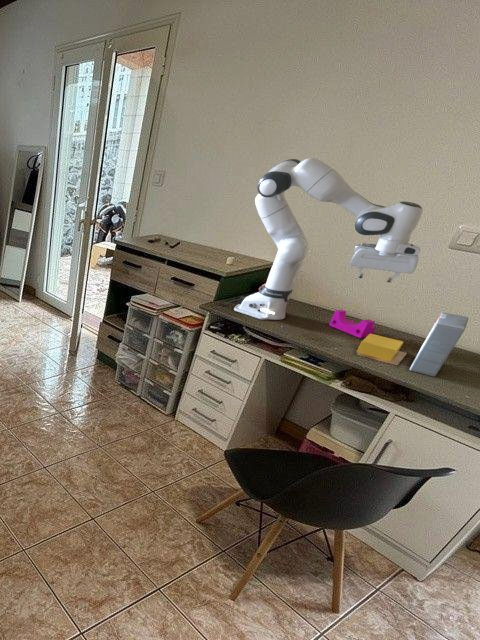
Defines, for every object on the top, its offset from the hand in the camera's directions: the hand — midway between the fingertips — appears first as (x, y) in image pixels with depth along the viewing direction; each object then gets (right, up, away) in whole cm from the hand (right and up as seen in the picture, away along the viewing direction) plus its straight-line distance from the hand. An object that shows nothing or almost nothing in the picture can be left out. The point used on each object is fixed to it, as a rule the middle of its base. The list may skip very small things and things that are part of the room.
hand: (374, 280), depth 175 cm
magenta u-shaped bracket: (+8, -19, +21) cm, 29 cm away
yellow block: (-1, -26, +4) cm, 26 cm away
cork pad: (+3, -31, 0) cm, 31 cm away
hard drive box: (+11, -37, -9) cm, 40 cm away
